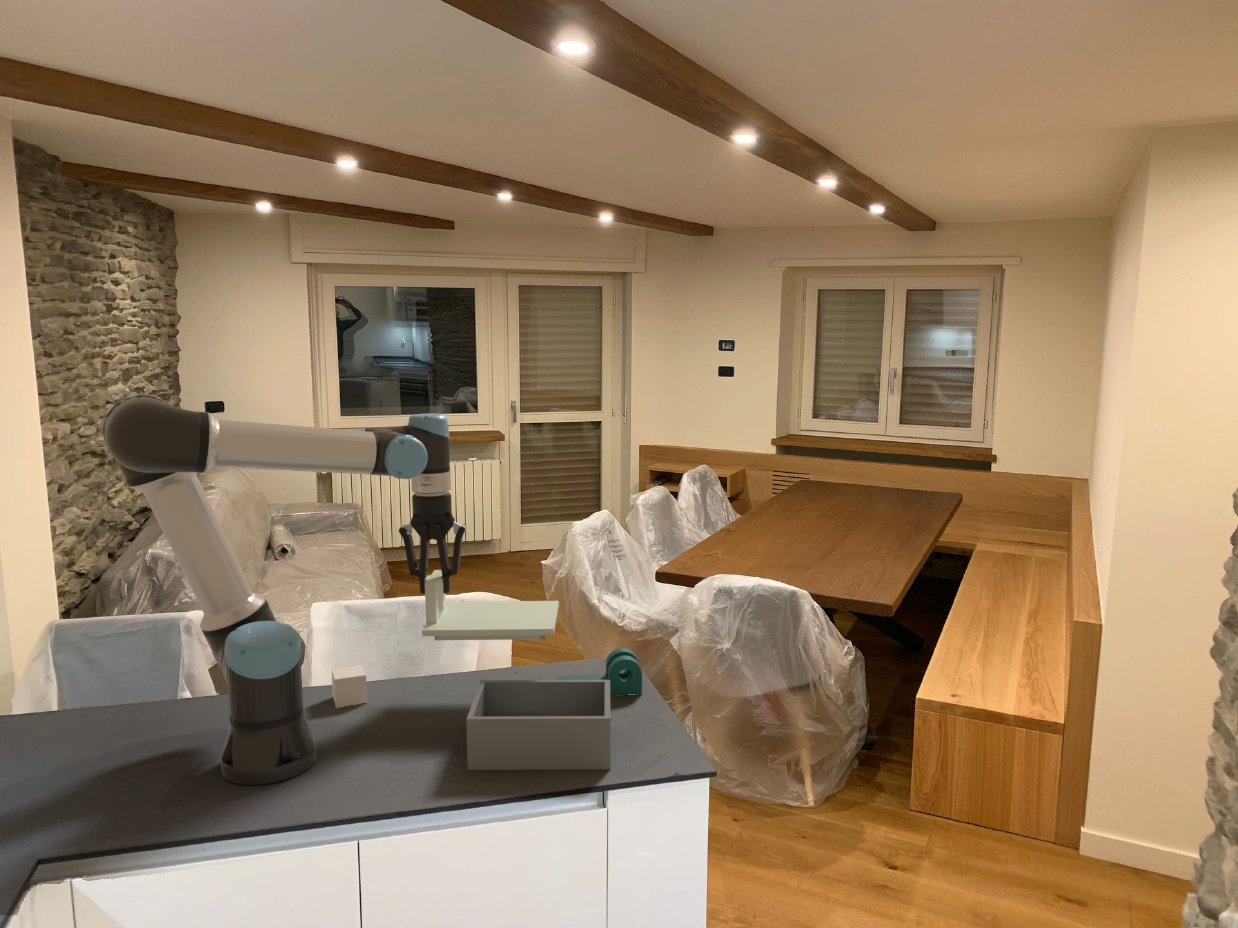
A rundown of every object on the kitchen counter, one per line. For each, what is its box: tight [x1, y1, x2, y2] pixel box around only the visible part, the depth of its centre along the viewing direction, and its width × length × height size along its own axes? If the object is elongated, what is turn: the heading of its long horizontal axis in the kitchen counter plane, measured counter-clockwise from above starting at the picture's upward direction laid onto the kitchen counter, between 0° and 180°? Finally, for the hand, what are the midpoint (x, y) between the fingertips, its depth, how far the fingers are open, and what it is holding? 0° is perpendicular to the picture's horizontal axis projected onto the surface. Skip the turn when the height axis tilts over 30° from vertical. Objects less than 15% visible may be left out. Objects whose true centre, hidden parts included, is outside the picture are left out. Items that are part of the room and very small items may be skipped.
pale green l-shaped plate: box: [421, 569, 560, 641], centre depth 179 cm, size 25×18×11 cm
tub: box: [465, 679, 611, 771], centre depth 159 cm, size 24×17×9 cm
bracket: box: [553, 647, 643, 697], centre depth 184 cm, size 18×7×8 cm, turn 96°
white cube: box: [331, 664, 368, 708], centre depth 179 cm, size 6×6×6 cm
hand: (436, 608), depth 179 cm, fingers closed on pale green l-shaped plate, 2 cm apart
